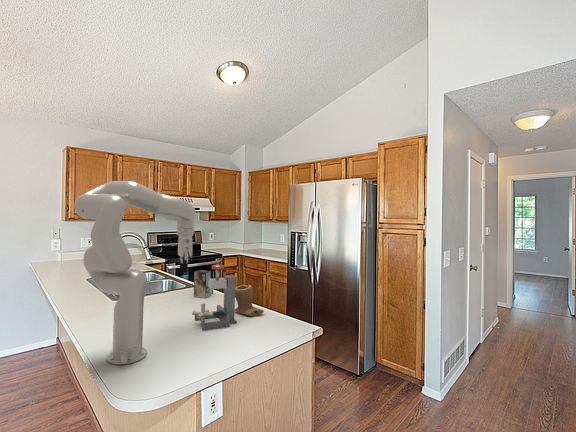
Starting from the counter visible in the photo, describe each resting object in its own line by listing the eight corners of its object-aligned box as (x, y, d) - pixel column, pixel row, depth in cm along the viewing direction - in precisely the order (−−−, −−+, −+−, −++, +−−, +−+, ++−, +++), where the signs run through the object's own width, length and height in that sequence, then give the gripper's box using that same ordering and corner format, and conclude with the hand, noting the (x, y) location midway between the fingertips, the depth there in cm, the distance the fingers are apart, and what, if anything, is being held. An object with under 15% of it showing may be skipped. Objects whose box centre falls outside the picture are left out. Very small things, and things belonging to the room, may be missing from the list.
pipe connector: (208, 328, 141) (208, 306, 141) (187, 327, 142) (188, 305, 142) (216, 321, 150) (217, 301, 151) (197, 320, 152) (198, 299, 152)
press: (239, 325, 146) (240, 279, 146) (202, 330, 138) (204, 281, 138) (228, 315, 161) (229, 273, 161) (194, 319, 152) (195, 275, 152)
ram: (226, 293, 149) (227, 266, 149) (211, 295, 145) (211, 267, 145) (222, 290, 154) (223, 264, 154) (207, 292, 150) (208, 265, 150)
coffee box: (211, 296, 197) (212, 271, 197) (205, 298, 191) (206, 272, 191) (198, 294, 200) (199, 269, 200) (193, 296, 194) (193, 271, 194)
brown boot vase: (228, 312, 165) (229, 284, 165) (245, 308, 174) (246, 281, 174) (247, 320, 154) (248, 290, 154) (264, 314, 163) (265, 286, 163)
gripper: (197, 232, 137) (195, 274, 136) (190, 231, 150) (188, 269, 149) (179, 232, 133) (177, 275, 133) (174, 231, 146) (172, 269, 146)
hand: (183, 271), depth 141 cm, fingers closed
